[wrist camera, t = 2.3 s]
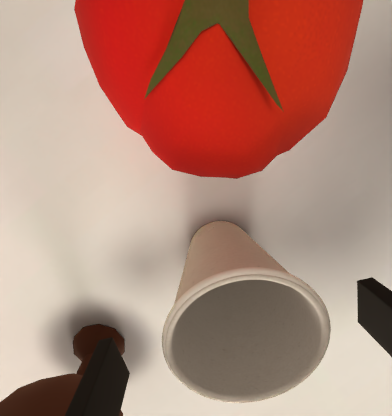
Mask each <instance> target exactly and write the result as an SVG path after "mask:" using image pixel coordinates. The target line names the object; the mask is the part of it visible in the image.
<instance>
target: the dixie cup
mask: <svg viewBox="0 0 392 416" xmlns="http://www.w3.org/2000/svg"><path fill="white" fill-rule="evenodd" d="M330 331H331V327H330V319H329V314H328V311H327V309H326V306H325V304H324V303H323V301H322V299H321V298H320V297H319V295H318V294H317V293H316V292H315V291H314V290H313V289H312V288H311V287H310V286H309V285H308V284H306V283H305V282H304V281H302V280H300V279H299V278H297V277H295V276H293V275H291V274H290V273H289V272H287V271H286V270H285V269H284V268H283V267H282V266H281V265H280V264H279V263H278V262H277V261H276V260H274V259H273V258H272V257H271V256H270V255H269V254H268V253H267V252H266V251H265V250H264V249H263V248H261V247H260V246H259V245H258V244H257V243H256V242H255V241H254V240H253V239H252V238H251V237H250V236H249V235H247V234H246V233H245V232H244V231H243V230H242V229H241V228H240V227H238V226H237V225H235V224H233V223H230V222H227V221H215V222H211V223H208V224H206V225H204V226H203V227H201V228H200V229H199V230H198V231H197V232H196V233H195V234H194V236H193V238H192V240H191V243H190V247H189V251H188V255H187V258H186V262H185V266H184V270H183V273H182V277H181V281H180V285H179V288H178V292H177V296H176V300H175V303H174V306H173V307H172V309H171V311H170V312H169V314H168V316H167V319H166V321H165V324H164V328H163V333H162V348H163V353H164V357H165V360H166V362H167V364H168V366H169V368H170V370H171V371H172V373H173V374H174V375H175V376H176V378H177V379H178V380H179V381H180V382H182V383H183V384H184V385H185V386H187V387H188V388H189V389H191V390H192V391H194V392H196V393H198V394H200V395H202V396H204V397H207V398H210V399H214V400H218V401H223V402H231V403H246V402H255V401H261V400H265V399H269V398H272V397H275V396H278V395H280V394H282V393H285V392H287V391H289V390H290V389H292V388H294V387H295V386H297V385H298V384H300V383H301V382H302V381H304V380H305V379H306V378H307V377H308V376H309V375H310V374H311V373H312V372H313V371H314V370H315V369H316V368H317V366H318V365H319V363H320V362H321V360H322V358H323V356H324V354H325V352H326V350H327V347H328V344H329V339H330Z"/></svg>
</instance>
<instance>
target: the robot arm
mask: <svg viewBox="0 0 392 416" xmlns="http://www.w3.org/2000/svg"><path fill="white" fill-rule="evenodd" d="M357 290H358V323H359V324H360V325H361V326H362V327H363V328H364V329H365V330H366V331H367V332H368V333H369V334H370V335H371V336H372V337H373V338H374V339H375V340H376V341H377V342H378V343H379V344H380V345H381V346H382V347H383V348H384V349H385V350H386V351H387V352H388V353H389V354H390V356H391V357H392V291H391V290H389V289H388V288H386V287H385V286H384V285H382V284H381V283H379V282H378V281H376V280H375V279H374V278H368V279H363V280H359V281H357ZM129 374H130V373H129V371H128V369H127V367H126V365H125V362H124V360H123V358H122V356H121V354H120V352H119V350H118V347H117V345H116V343H115V341H114V339H113V337H111V338H107V339H102V340H99V341H98V343H97V346H96V348H95V350H94V352H93V354H92V357H91V359H90V361H89V363H88V365H87V368H86V370H85V372H84V374H83V376H82V379H81V381H80V383H79V385H78V388H77V390H76V392H75V394H74V396H73V399H72V401H71V403H70V405H69V407H68V410H67V412H66V414H65V416H119V414H120V410H121V406H122V402H123V398H124V394H125V390H126V386H127V382H128V378H129Z"/></svg>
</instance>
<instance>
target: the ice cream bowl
mask: <svg viewBox="0 0 392 416" xmlns="http://www.w3.org/2000/svg"><path fill="white" fill-rule="evenodd" d="M111 337H113V339H114V341H115V343H116V345H117V347H118V350H119V352H120V354H121V356H122V354H123V353H124V338H123V337H122V336H121V335H120V334H119V333H118V332H117V331H116V330H115V329H114V328H110V327H107V326H104V325H100V324H96V325H92V326H87V327H83V328H82V329H81V330H80V331H79V332H78V333H77V334H76V336H75V337H74V340H73V349H74V354H75V355H76V356H77V357H78V358H79V359H80V360H81V361H82V363H81V365H80V367H79V369H78V371H77V374H67V375H61V376H56V377H51V378H46V379H41V380H38V381H36V382H33V383H31V384H28V385H26V386H23V387H20V388H18V389H17V390H16V391H14V392H13V393H12V394H10V395H9V396H8V397H6V398H5V399H4V400H3V401H1V402H0V416H65V414H66V412H67V410H68V407H69V405H70V403H71V401H72V399H73V396H74V394H75V392H76V390H77V388H78V385H79V383H80V381H81V379H82V376H83V374H84V372H85V370H86V368H87V365H88V363H89V361H90V359H91V357H92V354H93V352H94V350H95V348H96V346H97V343H98V341H99V340H102V339H107V338H111ZM119 416H123V413H122V411H121V410H120V414H119Z"/></svg>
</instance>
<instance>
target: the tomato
mask: <svg viewBox="0 0 392 416" xmlns="http://www.w3.org/2000/svg"><path fill="white" fill-rule="evenodd" d="M362 5H363V0H76V2H75V13H76V17H77V21H78V25H79V29H80V33H81V37H82V41H83V45H84V48H85V51H86V53H87V56H88V58H89V60H90V63H91V65H92V68H93V70H94V73H95V75H96V78H97V80H98V83H99V85H100V87H101V88H102V90H103V91H104V93H105V94H106V96H107V97H108V99H109V101H110V102H111V103H112V105H113V106H114V108H115V109H116V111H117V112H118V114H119V115H120V117H121V118H122V120H123V121H124V123H125V124H126V126H127V127H129V128H130V129H132V130H134V131H135V132H137V133H138V134H140V135H142V136H143V138H144V139H145V141H146V142H147V144H148V146H149V147H150V149H151V150H152V152H153V153H154V154H156V155H157V156H158V157H159V158H160V159H161V160H162V161H163V162H164V163H166V164H167V165H168V166H169V167H170V168H171V169H172V170H176V171H180V172H184V173H188V174H192V175H197V176H201V177H226V178H236V179H237V178H240V177H243V176H247V175H250V174H253V173H256V172H259V171H262V170H263V169H264V168H265V167H266V166H267V165H268V164H269V163H270V162H271V161H272V160H273V159H274V158H275V157H276V156H277V155H279V154H281V153H284V152H286V151H289V150H290V149H291V148H292V147H293V146H295V145H296V144H297V143H298V142H299V141H300V140H301V139H302V138H304V137H305V136H306V135H307V134H308V133H309V132H310V131H311V130H312V129H314V128H315V127H316V126H317V125H318V124H319V123H320V122H321V121H323V120H324V119H325V118H326V117H327V114H328V112H329V110H330V108H331V105H332V103H333V101H334V99H335V96H336V94H337V92H338V90H339V87H340V85H341V83H342V81H343V78H344V76H345V74H346V72H347V69H348V65H349V60H350V56H351V52H352V48H353V43H354V39H355V35H356V31H357V26H358V22H359V18H360V13H361V9H362Z"/></svg>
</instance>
